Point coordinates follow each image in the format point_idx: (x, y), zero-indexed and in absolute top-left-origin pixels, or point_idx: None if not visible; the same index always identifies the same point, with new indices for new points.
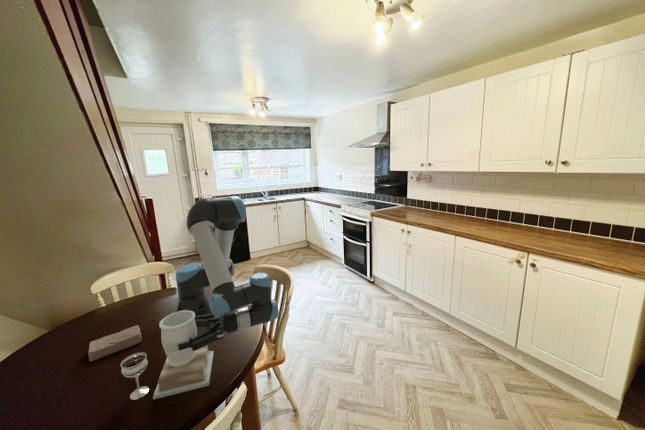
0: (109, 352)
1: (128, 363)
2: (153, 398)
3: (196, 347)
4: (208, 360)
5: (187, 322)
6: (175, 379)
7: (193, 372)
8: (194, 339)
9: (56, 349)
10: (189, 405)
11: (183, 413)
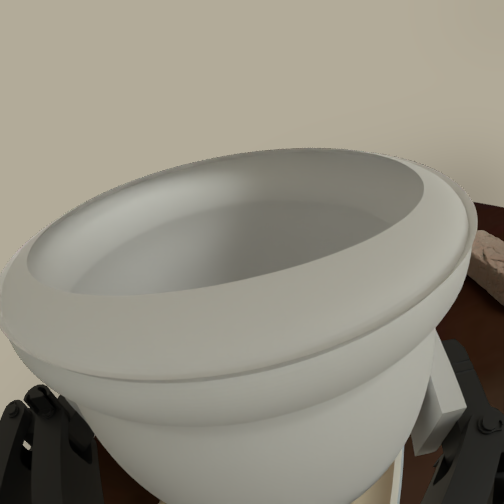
0: (470, 271)
1: None
2: None
3: (32, 447)
4: None
5: (14, 262)
6: None
7: (160, 500)
8: (35, 429)
9: (478, 220)
10: (115, 478)
11: (103, 459)
